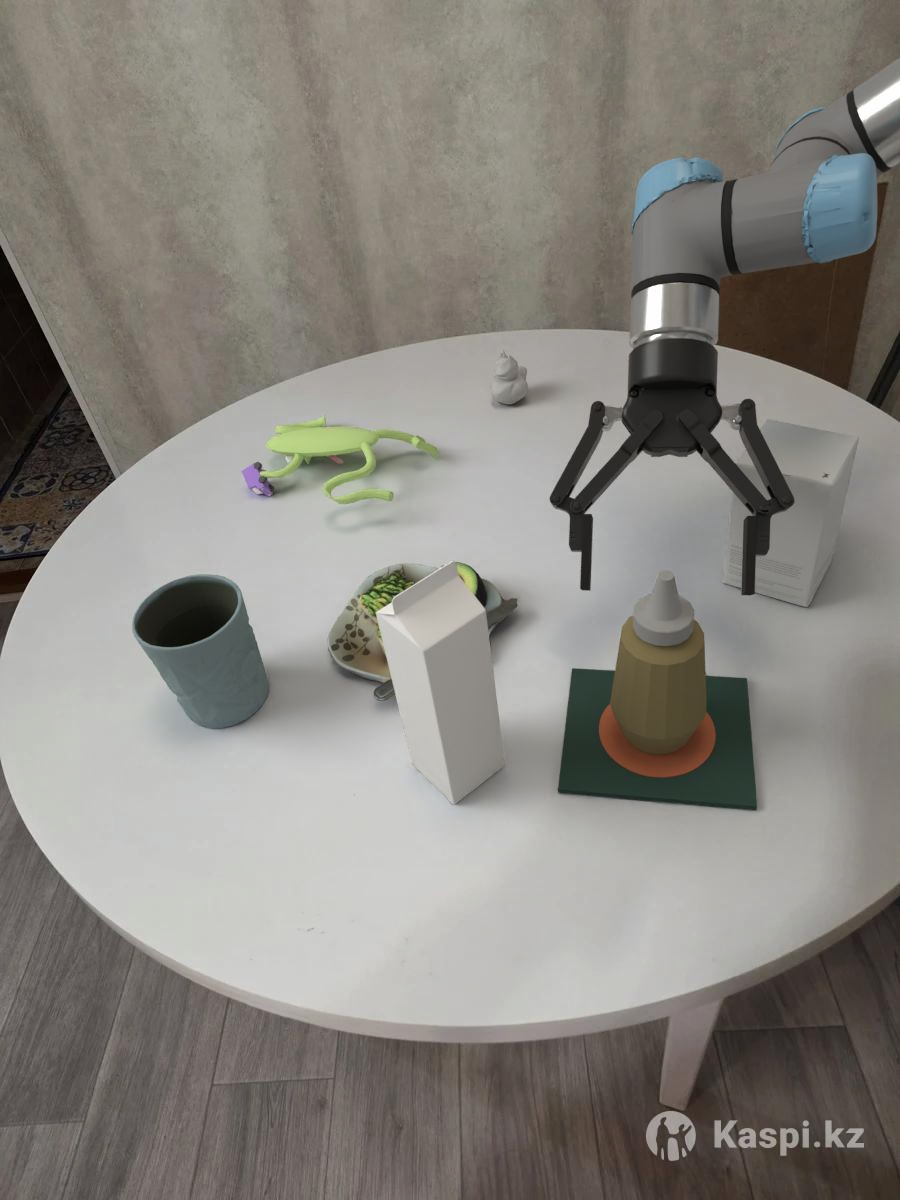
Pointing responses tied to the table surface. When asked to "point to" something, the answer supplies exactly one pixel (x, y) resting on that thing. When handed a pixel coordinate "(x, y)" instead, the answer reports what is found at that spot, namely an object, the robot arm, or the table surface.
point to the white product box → (795, 511)
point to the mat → (687, 776)
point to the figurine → (327, 455)
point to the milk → (444, 681)
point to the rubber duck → (508, 380)
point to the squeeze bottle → (660, 671)
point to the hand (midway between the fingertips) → (665, 592)
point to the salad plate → (357, 626)
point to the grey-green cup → (204, 648)
